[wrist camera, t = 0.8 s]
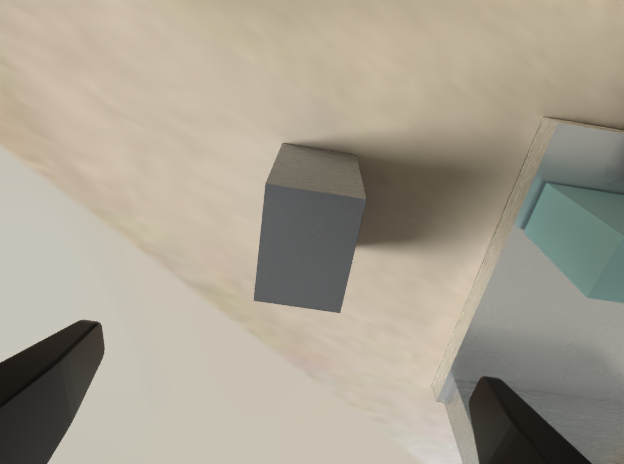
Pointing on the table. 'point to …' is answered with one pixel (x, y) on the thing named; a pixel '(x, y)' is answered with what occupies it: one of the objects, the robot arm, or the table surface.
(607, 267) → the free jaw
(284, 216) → the steel block
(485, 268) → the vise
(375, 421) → the table surface
